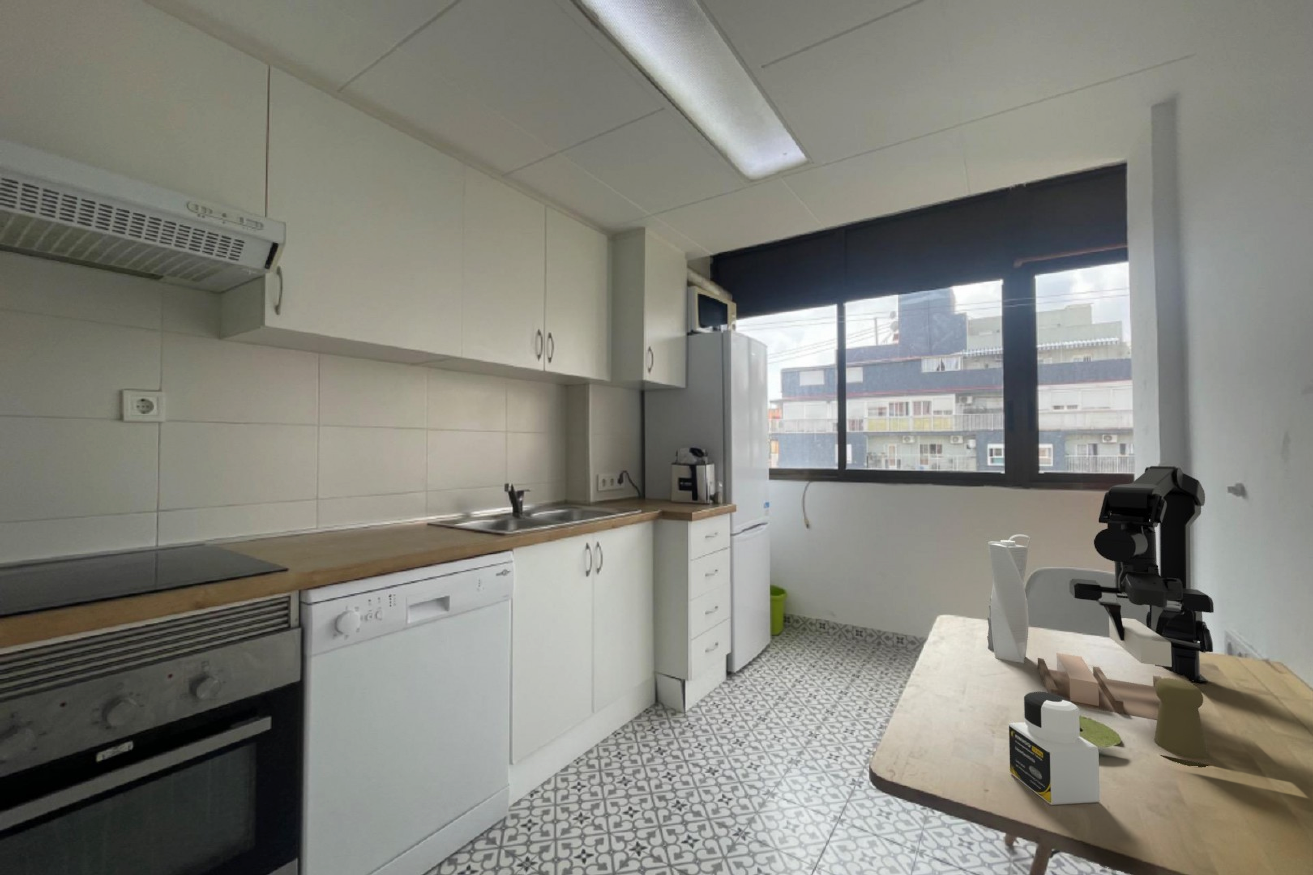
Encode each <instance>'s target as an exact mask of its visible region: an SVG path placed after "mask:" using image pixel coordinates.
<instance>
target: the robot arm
mask: <svg viewBox="0 0 1313 875" xmlns="http://www.w3.org/2000/svg"><path fill="white" fill-rule="evenodd" d="M1205 502H1206V493H1205V489H1204V487H1203V486H1202V484H1201V481H1200V480H1198V479H1196V478H1195V477H1192V476H1190V475H1188V474H1186V473H1184V472H1183V470H1182V468H1181V467H1177V466H1175V465H1173V466H1172V465H1169V466H1168V465H1151V466H1146V467H1145V469H1144V472H1143V473H1142V474H1141V475H1140V476H1138V477H1137V478H1136V479H1135V480H1134V481H1133V482H1131V483H1126V484H1116V485H1113V486H1111V487H1110V488H1109V489H1108V491H1107V492H1105V493H1104V496H1103V500H1102V504H1101V508H1100V513H1099V517H1098V523H1099V524H1106V525H1107V527H1106V528H1105V529H1102V530H1100V531H1099V532H1097V534H1096V535H1095V537H1094V539H1093V546H1094V548H1095V550H1096V552H1097V553H1098V554H1099V555H1100V556H1101V557H1103V558H1104V559H1105V560H1109V561H1111V562H1113V563H1114V585H1115V586H1108V585H1101V584H1100V583H1099V582H1097V581H1096V580H1095V579H1084V578H1083V579H1082V578H1072V579H1071V580H1069V582H1068V583H1069V586H1068V587H1069V593H1070V594H1071V596H1073V597H1074V599H1078V600H1087V601H1095V602H1096V603H1097V604H1098V605H1099V606H1101V607H1104V609H1105V610H1106V613H1107V614H1108V617H1110V618H1111V621H1112V623H1113V625H1114V627H1115V630H1116V632H1117V634H1118V637H1119V639H1120V640H1121V641H1124V631H1123V624H1122V618H1123V617H1122V615H1121V613H1122V611H1121V610H1122V605H1121V604H1120V603H1119V602H1118V601H1117V600H1118V598H1119V599H1126V600H1127V599H1128V602H1130V603H1131V604H1133V605H1136V606H1143V605H1145V606H1149V611H1147V614H1146V618H1145V619H1146V621H1145V624H1146V627H1148V628H1149V629H1151V630H1152V631H1154V632H1155V633H1157V634H1158V635H1160V636H1162V637H1163V638H1165V639H1166V640H1168V641H1169V642H1171V660H1172V667H1169V666H1161V665H1154V666H1155V667H1160V668H1162V669H1163V670H1164V669H1165V670H1166V671H1169V672H1171V673H1173V674H1177V675H1178V676H1183V677H1185V678H1186V679H1187V680H1188V681H1191V682H1197V683H1202V684H1203V683H1204V684H1208V683H1209V681H1208V679H1207V678H1205V677H1204V676H1203V675H1202V674H1201V665H1200V663H1201V662H1200V653H1203V654H1205V653H1214V646H1213V645H1214V644H1213V639H1212V635H1211V630H1210V629H1209V628H1208V627H1207V626H1208V625H1207V623H1206V622H1205V621H1203V613H1209V614H1210V613H1211V614H1213V613H1215V612H1214V611H1215V610H1214V608H1215V607H1214V600H1213V598H1212V597H1210V596H1209V595H1208V594H1206V593H1205V592H1202V591H1201V590H1198V589H1195V588H1194V589H1193V588H1192V585H1191V582H1192V581H1191V577H1192V575H1191V573H1192V572H1191V571H1192V570H1191V525H1192V524H1193V523H1194V522H1195V521H1196V520H1197V519H1198V518H1199V517H1200V515H1202V514H1201V513H1202V507H1204V505H1205V504H1206V503H1205ZM1158 526H1160V527H1159V532H1160V534H1159V535H1160V536H1159V540H1160V542H1159V543H1160V544H1159V545H1160V547H1159V548H1160V549H1159V551H1160V552H1159V553H1160V557H1159V558H1160V560H1159V561H1160V562H1159V563H1160V564H1159V565H1158V562H1157V561H1158V560H1157V538H1156V537H1157V534H1156V529H1155V528H1157V527H1158ZM1159 566H1160V568H1159ZM1159 571H1160V572H1159Z"/></svg>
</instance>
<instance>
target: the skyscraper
mask: <svg viewBox="0 0 1313 875" xmlns="http://www.w3.org/2000/svg"><path fill="white" fill-rule="evenodd" d="M1017 537H1022V538H1027V542H1026V545H1020V544H1016V541H1015V540H1013V539H1014V538H1017ZM1030 542H1031V536H1030V535H1027V534H1014V535H1011V536H1010V537H1009V538H1008V539H1007V540H1006V539H1001V540H1000V541H995V540H994V541H993V540H991V541H988V543H987V547H988V554H989V555H988V556H989V563H990V571H991V575H992V576H991V577H992V581H993V582H992V589H991V595H990V596H991V597H990V598H989V599H990V600H989V601H990V602H989V603H990V605H989V606H988V608H989V614H988V615H989V616H987V623H988V624H987V625H988V629H987V637H986V638H987V643H988V645H987V649H988V650H989V651H993V653H994V658H995V659H999V660H1005V661H1010V662H1016V663H1021V664H1025V662H1024V661H1025V658H1026V656H1027V648H1028V640H1029V639H1028V638H1029V606H1028V599H1027V594H1026V588H1025V586H1024V585H1025V584H1024V581H1025V575H1026V568H1027V560H1028V549H1029V545H1030Z"/></svg>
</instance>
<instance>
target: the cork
mask: <svg viewBox="0 0 1313 875" xmlns="http://www.w3.org/2000/svg"><path fill="white" fill-rule="evenodd" d="M1161 678H1162V677H1161ZM1155 691H1156V694H1157V696H1158V698H1159V699H1160V705H1159V711H1158V718H1157V720H1156V725H1155V726H1156V727H1155V732H1154V740H1153V741H1154V743H1155V745H1157V746H1158V747H1159V748H1161V749H1163V750H1165V751H1166V752H1169V753H1173V754H1174V755H1177V756H1181V757H1185V758H1191V759H1198V760H1199V759H1200V760H1201V759H1207V757H1208V756H1209V755H1208V750H1207V749H1208V748H1207V744H1206V741H1205V740H1206V739H1205V736H1204V732H1203V731H1204V730H1203V725H1202V721H1201V716H1200V712H1199V711H1200V710H1199V708H1201V707H1202V706H1203V703H1204V696H1203V693H1202V691H1201V690H1200V689H1199V687H1198V686H1196V685H1194V684H1193V683H1191V682H1188V681H1185V680H1181V679H1177V678H1171V677H1163V678H1162V679H1159V680H1158V681H1157V682H1156V684H1155ZM1159 756H1160V757H1161V758H1162V757H1163V758H1164V759H1166V760H1168V761H1171V762H1173V763H1176V762H1177V763H1176V764H1179V763H1180V765H1184V766H1186V765H1187V767H1191V766H1198V767H1197V768H1202V767H1204V768H1207V767H1206V766H1208V767H1209V766H1210V764H1207V763H1201V762H1197V761H1192V760H1188V759H1182V758H1178V757H1173V756H1169V755H1168V756H1167V755H1163V754H1159Z"/></svg>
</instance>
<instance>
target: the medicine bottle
mask: <svg viewBox="0 0 1313 875" xmlns="http://www.w3.org/2000/svg"><path fill="white" fill-rule="evenodd" d="M1023 709H1024V710H1023V711H1024V712H1023V713H1024V714H1023V716H1024V721H1023V722H1010V723H1009V724H1008V741H1009V743H1008V746H1009V747H1008V748H1009V749H1008V750H1009V752H1008V753H1009V773H1010V774H1011V775H1012V776H1014V778H1016V779H1017V780H1018V781H1020V783H1022V784H1023V785H1025V787H1027V788H1029V789H1030V790H1031V791H1033V793H1034V794H1036V795H1037V796H1039V797H1040V798H1041V799H1042V800H1043V801H1045V803H1047V804H1049V805H1050V806H1054V805H1072V804H1089V803H1091V804H1092V803H1100V801H1101V798H1100V796H1101V795H1100V792H1101V790H1100V788H1101V787H1100V764H1099V762H1100V757H1099V746H1095V745H1093V744H1092V743H1090V742H1088V741H1087V740H1085V739H1083V738H1082V737H1080V726H1079V715H1080V708H1079V706H1078V705H1075V704H1074V703H1073V702H1072V701H1070V700H1068V699H1066V698H1064V697H1062V696H1059V695H1056V694H1053V693H1048V692H1047V691H1032V692H1028V693H1026V694H1025V695H1024V697H1023Z"/></svg>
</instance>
